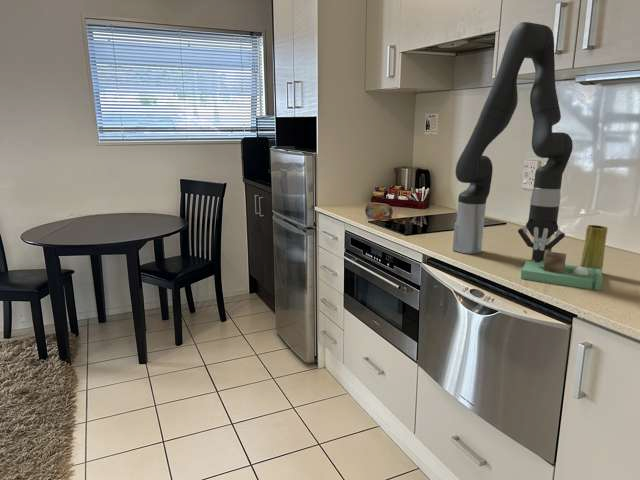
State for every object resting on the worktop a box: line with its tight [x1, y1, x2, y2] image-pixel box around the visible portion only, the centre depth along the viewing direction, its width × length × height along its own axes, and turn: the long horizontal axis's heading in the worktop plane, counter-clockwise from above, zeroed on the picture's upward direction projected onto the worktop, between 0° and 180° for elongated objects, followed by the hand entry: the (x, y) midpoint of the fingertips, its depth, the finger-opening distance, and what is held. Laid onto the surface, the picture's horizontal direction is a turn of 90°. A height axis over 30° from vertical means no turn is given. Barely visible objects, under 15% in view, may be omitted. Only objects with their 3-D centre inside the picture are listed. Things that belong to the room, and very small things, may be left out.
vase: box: [580, 224, 608, 273], centre depth 141 cm, size 6×6×14 cm
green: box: [520, 259, 603, 291], centre depth 137 cm, size 20×14×2 cm
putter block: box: [544, 251, 567, 273], centre depth 137 cm, size 5×8×4 cm, turn 150°
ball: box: [573, 267, 589, 275], centre depth 134 cm, size 4×4×4 cm
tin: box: [365, 202, 394, 222], centre depth 220 cm, size 15×3×8 cm, turn 42°
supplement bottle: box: [530, 236, 553, 262], centre depth 149 cm, size 5×5×10 cm
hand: (537, 261), depth 139 cm, fingers closed
